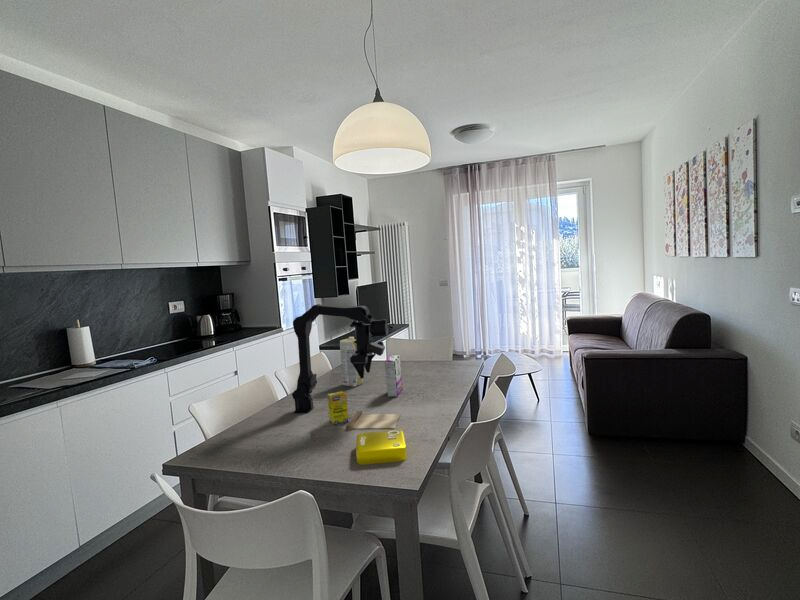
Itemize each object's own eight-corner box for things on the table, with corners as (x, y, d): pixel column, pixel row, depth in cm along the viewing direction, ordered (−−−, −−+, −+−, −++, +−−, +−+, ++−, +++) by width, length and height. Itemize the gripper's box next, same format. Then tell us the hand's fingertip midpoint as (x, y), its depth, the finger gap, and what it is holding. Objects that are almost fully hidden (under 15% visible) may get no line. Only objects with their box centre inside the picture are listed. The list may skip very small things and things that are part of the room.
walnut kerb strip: (346, 430, 155) (345, 426, 155) (357, 414, 171) (357, 411, 171) (351, 430, 155) (351, 426, 155) (362, 414, 171) (361, 410, 171)
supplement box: (333, 426, 160) (331, 397, 159) (329, 421, 166) (326, 393, 165) (349, 422, 163) (346, 394, 162) (344, 418, 168) (341, 390, 167)
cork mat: (350, 429, 156) (350, 428, 156) (360, 415, 170) (360, 414, 170) (394, 428, 154) (394, 427, 154) (400, 415, 167) (400, 414, 167)
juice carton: (365, 383, 217) (361, 336, 216) (355, 387, 211) (351, 338, 209) (350, 381, 222) (347, 335, 221) (340, 385, 216) (337, 338, 214)
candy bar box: (392, 389, 203) (389, 355, 202) (402, 389, 202) (400, 355, 201) (386, 397, 192) (384, 360, 191) (397, 397, 191) (395, 360, 190)
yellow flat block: (358, 445, 142) (357, 431, 142) (403, 441, 143) (402, 427, 143) (356, 466, 127) (355, 450, 127) (407, 462, 128) (406, 446, 128)
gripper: (376, 340, 163) (379, 381, 164) (387, 332, 181) (389, 369, 183) (348, 341, 165) (351, 381, 166) (361, 333, 184) (364, 369, 185)
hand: (365, 375), depth 175 cm, fingers open, 9 cm apart
